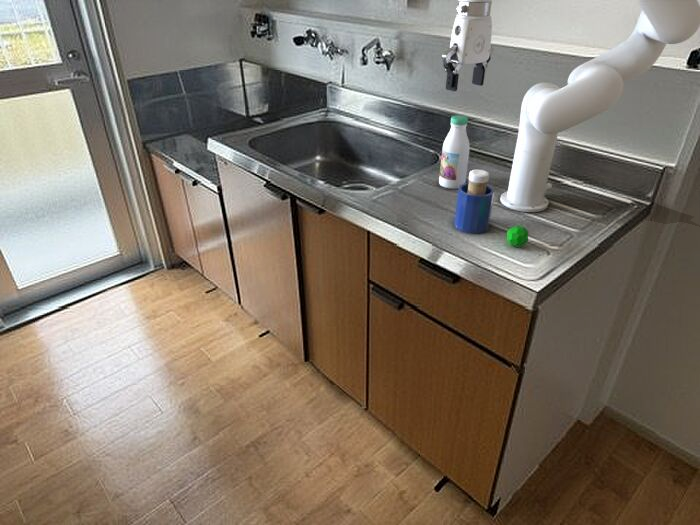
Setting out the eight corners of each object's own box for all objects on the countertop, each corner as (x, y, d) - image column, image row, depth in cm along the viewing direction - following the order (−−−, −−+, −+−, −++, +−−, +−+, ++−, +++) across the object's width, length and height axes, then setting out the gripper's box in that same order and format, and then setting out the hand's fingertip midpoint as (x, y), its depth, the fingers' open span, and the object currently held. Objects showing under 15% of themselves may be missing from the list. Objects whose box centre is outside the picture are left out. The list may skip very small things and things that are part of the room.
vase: (469, 215, 130) (474, 179, 124) (494, 227, 124) (501, 190, 119) (447, 224, 125) (451, 187, 120) (472, 237, 120) (478, 199, 114)
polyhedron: (522, 240, 118) (526, 222, 116) (529, 250, 114) (533, 232, 112) (502, 240, 118) (505, 222, 116) (508, 250, 114) (511, 232, 112)
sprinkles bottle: (485, 223, 124) (493, 173, 117) (472, 228, 122) (479, 177, 115) (471, 216, 127) (479, 167, 120) (458, 221, 125) (465, 171, 118)
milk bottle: (456, 177, 151) (464, 112, 141) (469, 187, 145) (479, 119, 135) (434, 181, 149) (440, 114, 138) (447, 191, 143) (454, 122, 132)
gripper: (461, 13, 106) (452, 95, 115) (510, 9, 115) (498, 85, 124) (435, 11, 111) (429, 89, 120) (485, 6, 120) (475, 80, 129)
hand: (464, 87), depth 122 cm, fingers open, 9 cm apart
